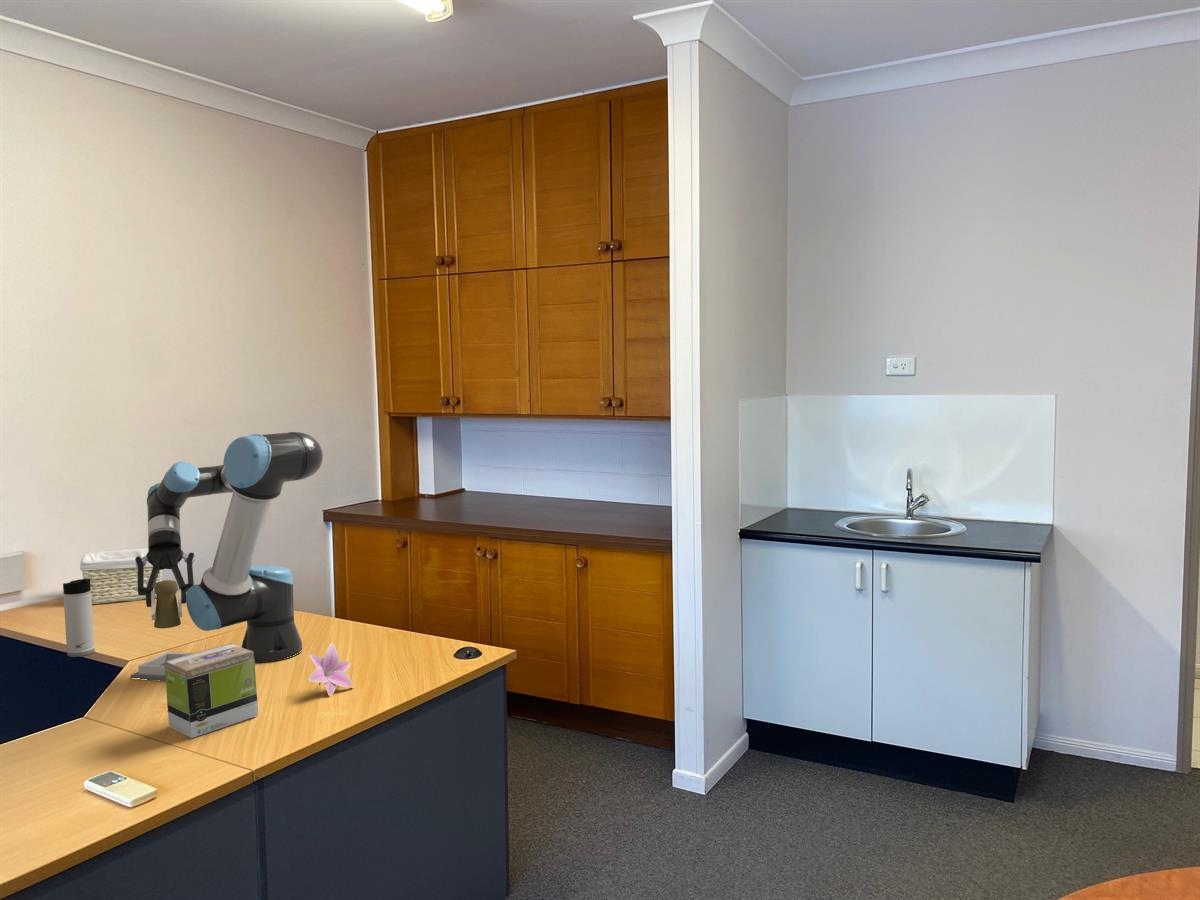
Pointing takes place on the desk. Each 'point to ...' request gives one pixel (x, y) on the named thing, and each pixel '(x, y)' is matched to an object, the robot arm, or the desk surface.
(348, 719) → the desk surface
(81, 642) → the travel mug
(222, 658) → the tea box
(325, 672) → the lily
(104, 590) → the storage basket
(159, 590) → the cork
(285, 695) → the desk surface
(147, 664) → the grey square tray
